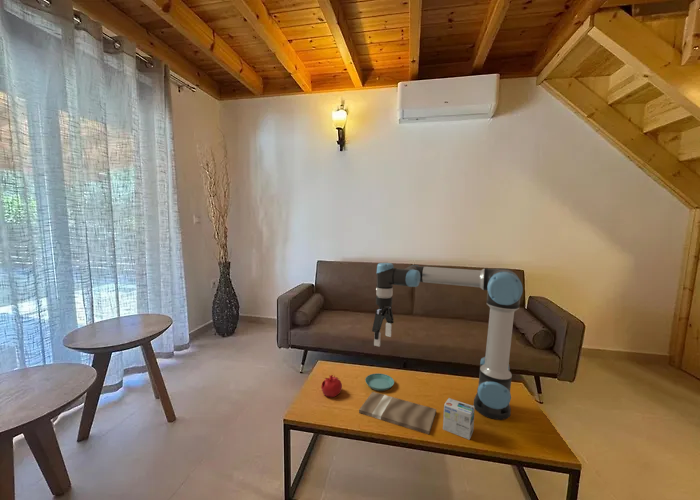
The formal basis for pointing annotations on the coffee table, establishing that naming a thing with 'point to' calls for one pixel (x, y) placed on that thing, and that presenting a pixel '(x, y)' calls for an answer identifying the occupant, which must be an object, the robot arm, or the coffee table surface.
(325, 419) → the coffee table surface
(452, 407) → the light bulb box
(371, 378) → the saucer
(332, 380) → the pomegranate
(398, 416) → the board
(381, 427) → the coffee table surface
